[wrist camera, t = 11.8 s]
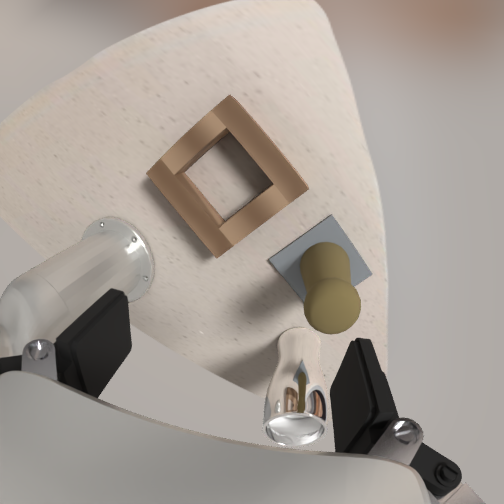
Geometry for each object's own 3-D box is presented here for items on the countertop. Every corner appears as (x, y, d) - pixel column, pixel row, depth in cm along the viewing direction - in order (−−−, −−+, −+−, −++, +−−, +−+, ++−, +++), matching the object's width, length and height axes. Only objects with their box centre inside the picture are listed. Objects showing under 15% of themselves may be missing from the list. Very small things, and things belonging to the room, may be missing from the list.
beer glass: (268, 328, 38) (251, 415, 24) (319, 319, 37) (325, 407, 23) (280, 366, 40) (269, 450, 26) (327, 358, 39) (332, 444, 25)
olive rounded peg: (347, 289, 34) (362, 344, 24) (298, 288, 35) (296, 343, 25) (352, 242, 32) (373, 285, 22) (300, 240, 33) (300, 283, 23)
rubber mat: (312, 311, 36) (312, 312, 36) (269, 258, 35) (269, 259, 34) (371, 273, 34) (372, 274, 33) (331, 214, 32) (331, 215, 32)
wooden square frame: (223, 249, 35) (216, 258, 33) (157, 170, 33) (146, 173, 30) (307, 185, 31) (308, 189, 28) (235, 99, 29) (229, 94, 26)
